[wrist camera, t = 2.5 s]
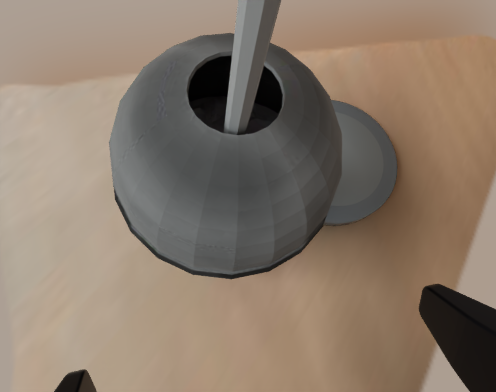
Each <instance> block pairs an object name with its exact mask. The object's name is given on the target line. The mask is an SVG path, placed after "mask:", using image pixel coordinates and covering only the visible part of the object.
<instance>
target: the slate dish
mask: <svg viewBox="0 0 496 392" xmlns="http://www.w3.org/2000/svg"><path fill="white" fill-rule="evenodd" d="M331 102H332V104H333V107H334V110H335V114H336V117H337V120H338V123H339V126H340V129H341V132H342V176H341V179H340V182H339V185H338V187H337V190H336V193H335V195H334V198H333V201H332V203H331V206H330V209H329V211H328V214H327V216H326V219H325V222H324V224H323V225H329V226H341V225H347V224H351V223H354V222H357V221H359V220H361V219H363V218H365V217H366V216H368V215H370V214H371V213H373V212H374V211H376V210H377V209H378V208H380V207H381V206H382V205H383V204H384V203H385V201H386V200H387V199H388V198H389V196H390V194H391V192H392V190H393V188H394V185H395V182H396V177H397V159H396V155H395V151H394V148H393V145H392V143H391V141H390V139H389V137H388V136H387V134H386V132H385V131H384V130H383V128H382V127H381V126H380V125H379V124H378V123H377V122H376V121H375V120H374V119H373V118H372V117H371V116H369V115H368V114H367V113H365V112H364V111H362V110H360V109H358V108H356V107H354V106H352V105H350V104H347V103H344V102H339V101H334V100H331Z"/></svg>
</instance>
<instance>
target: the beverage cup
mask: <svg viewBox="0 0 496 392" xmlns="http://www.w3.org/2000/svg"><path fill="white" fill-rule="evenodd" d="M280 3H281V0H238V7H237V16H236V17H237V18H236V25H235V34H232V33H226V34H215V35H203V36H199V37H196V38H194V39H191V40H188V41H186V42H183V43H180V44H177V45H175V46H173V47H171V48H169V49H168V50H166V51H165V52H164V53H162V54H161V55H160V56H158V57H157V58H156V59H154V60H153V61H152V62H150V63H149V64H148V65H146V66H145V67H144V68H143V69H142V70H141V72H140V73H139V75H138V76H137V77H136V79H135V80H134V82H133V83H132V85H131V86H130V88H129V89H128V90H127V92H126V93H125V95H124V96H123V98H122V99H121V101H120V103H119V107H118V111H117V115H116V118H115V122H114V126H113V130H112V133H111V137H110V141H109V147H110V157H111V167H112V177H113V187H114V193H115V200H116V202H117V204H118V206H119V208H120V211H121V213H122V215H123V217H124V219H125V221H126V223H127V225H128V227H129V229H130V231H131V232H132V233H133V234H134V235H135V236H136V237H137V238H138V239H139V240H140V241H141V242H142V243H143V244H144V245H145V246H146V247H147V248H148V249H149V250H150V251H151V252H152V253H153V254H154V255H155V256H156V257H157V258H159V259H161V260H163V261H165V262H167V263H169V264H172V265H174V266H176V267H178V268H180V269H182V270H184V271H186V272H188V273H191V274H193V275H201V276H209V277H218V278H226V279H235V278H239V277H244V276H249V275H254V274H259V273H264V272H268V271H270V270H272V269H274V268H276V267H277V266H279V265H281V264H282V263H284V262H286V261H287V260H289V259H291V258H293V257H294V256H296V255H298V254H299V253H301V252H302V250H303V249H304V248H305V247H306V246H307V245H308V243H309V242H310V241H311V240H312V239H313V237H314V236H315V235H316V234H317V233H318V232H319V230H320V229H321V228H322V227H323V224H324V222H325V219H326V216H327V214H328V211H329V209H330V206H331V203H332V201H333V198H334V195H335V193H336V190H337V187H338V185H339V182H340V179H341V176H342V132H341V129H340V126H339V123H338V120H337V117H336V114H335V110H334V107H333V104H332V102H331V99H330V96H329V95H328V94H327V92H326V91H325V89H324V88H323V86H322V85H321V84H320V82H319V81H318V79H317V78H316V77H315V75H314V74H313V72H312V71H311V70H310V69H309V68H308V67H307V66H305V65H304V64H303V63H302V62H300V61H299V60H298V59H297V58H295V57H294V56H293V55H292V54H290V53H289V52H288V51H286V50H285V49H283V48H281V47H278V46H276V45H274V44H272V43H270V40H271V36H272V33H273V29H274V25H275V21H276V18H277V14H278V10H279V7H280Z"/></svg>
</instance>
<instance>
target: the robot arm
mask: <svg viewBox="0 0 496 392" xmlns="http://www.w3.org/2000/svg"><path fill="white" fill-rule="evenodd" d="M419 312H420V315H421V317H422V319H423V320H424V322H425V324H426V325H427V327H428V329H429V330H430V332H431V334H432V335H433V337H434V339H435V340H436V342H437V344H438V345H439V347H440V349H441V350H442V352H443V353H444V355H445V357H446V358H447V360H448V362H449V363H450V365H451V366H452V368H453V369H454V371H455V372H456V373H457V375H458V376H459V378H460V379H461V380H462V382H463V383H464V384H465V386H466V387H467V388H468V390H469V391H470V392H496V309H494V308H492V307H489V306H487V305H485V304H483V303H480V302H478V301H476V300H474V299H472V298H470V297H467V296H465V295H463V294H461V293H459V292H456V291H454V290H452V289H450V288H447V287H445V286H443V285H441V284H433V285H429V286H425V287H424V288H423V290H422V295H421V299H420V304H419ZM54 392H97V391H96V388H95V386H94V384H93V382H92V380H91V377H90V375H89V373H88V371H87V370H85V369H84V370H79V371H75V372H71V373H68V374H67V375H66V376H65V377H64V378H63V380H62V381H61V383H60V384H59V385H58V387H57V388H56V390H55V391H54Z"/></svg>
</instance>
